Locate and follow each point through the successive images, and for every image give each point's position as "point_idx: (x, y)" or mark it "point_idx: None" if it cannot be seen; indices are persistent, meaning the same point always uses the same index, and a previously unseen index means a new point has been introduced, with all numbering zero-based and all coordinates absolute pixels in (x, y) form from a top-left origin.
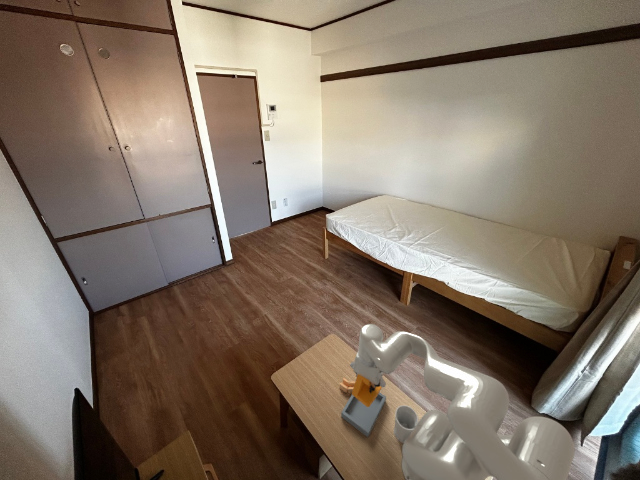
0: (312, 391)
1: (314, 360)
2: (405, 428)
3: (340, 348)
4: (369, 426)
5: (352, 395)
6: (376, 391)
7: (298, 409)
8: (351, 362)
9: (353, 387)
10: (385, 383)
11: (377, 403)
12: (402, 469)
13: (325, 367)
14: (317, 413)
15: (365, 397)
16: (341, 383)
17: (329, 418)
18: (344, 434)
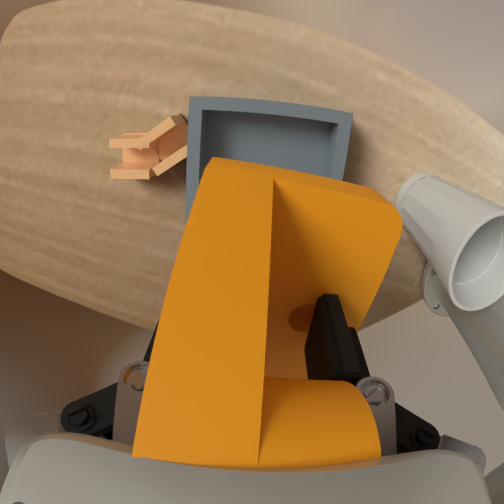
0: (64, 240)
1: (3, 140)
2: (479, 308)
3: (47, 18)
4: None
5: (190, 195)
6: (358, 312)
7: (78, 303)
8: (6, 438)
9: (174, 154)
10: (481, 470)
11: (314, 146)
12: (423, 297)
13: (39, 132)
14: (123, 289)
15: (287, 375)
16: (116, 171)
17: (163, 284)
18: None
